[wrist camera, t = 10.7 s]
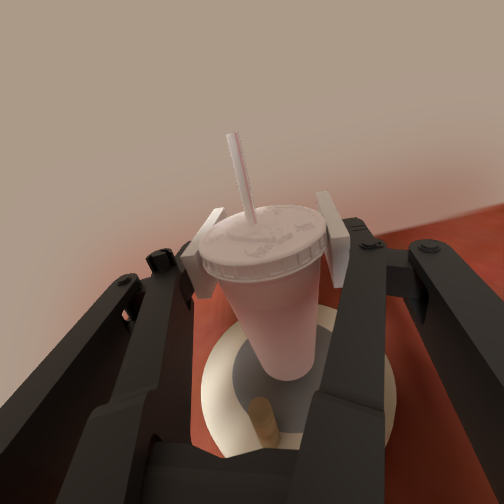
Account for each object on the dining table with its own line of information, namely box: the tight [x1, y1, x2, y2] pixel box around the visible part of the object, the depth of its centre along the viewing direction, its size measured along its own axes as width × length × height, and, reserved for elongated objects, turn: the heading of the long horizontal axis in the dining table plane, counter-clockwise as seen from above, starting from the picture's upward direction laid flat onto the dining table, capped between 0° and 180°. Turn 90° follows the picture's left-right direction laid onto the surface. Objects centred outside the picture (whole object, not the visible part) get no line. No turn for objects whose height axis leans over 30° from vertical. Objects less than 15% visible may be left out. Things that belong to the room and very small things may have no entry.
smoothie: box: [198, 131, 328, 381], centre depth 13 cm, size 6×6×14 cm
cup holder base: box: [201, 304, 396, 458], centre depth 17 cm, size 13×13×4 cm
